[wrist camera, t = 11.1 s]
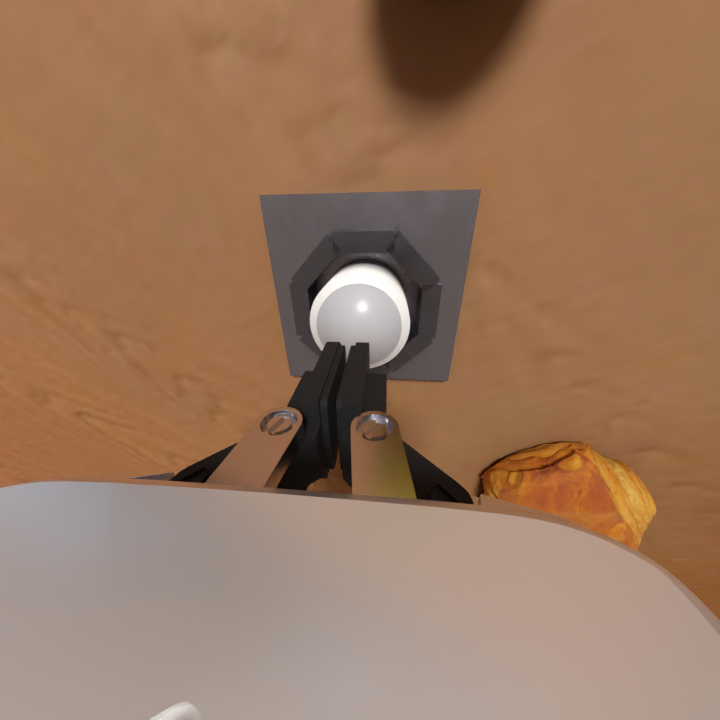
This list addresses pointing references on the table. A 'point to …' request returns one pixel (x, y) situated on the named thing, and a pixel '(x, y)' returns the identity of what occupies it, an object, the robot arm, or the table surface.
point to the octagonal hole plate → (382, 244)
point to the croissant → (575, 489)
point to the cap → (362, 310)
